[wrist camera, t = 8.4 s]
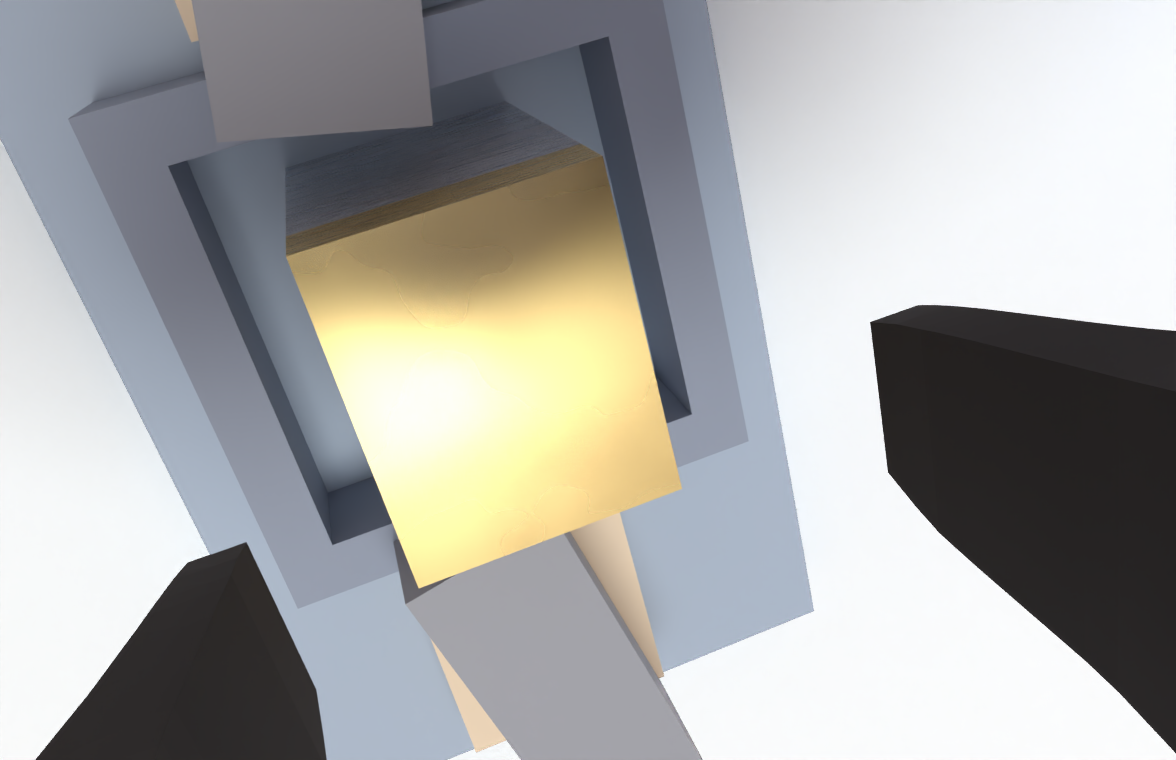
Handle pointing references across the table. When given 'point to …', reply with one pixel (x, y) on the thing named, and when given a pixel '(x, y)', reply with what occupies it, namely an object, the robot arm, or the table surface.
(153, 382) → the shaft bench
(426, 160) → the tan and white block
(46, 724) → the table surface
